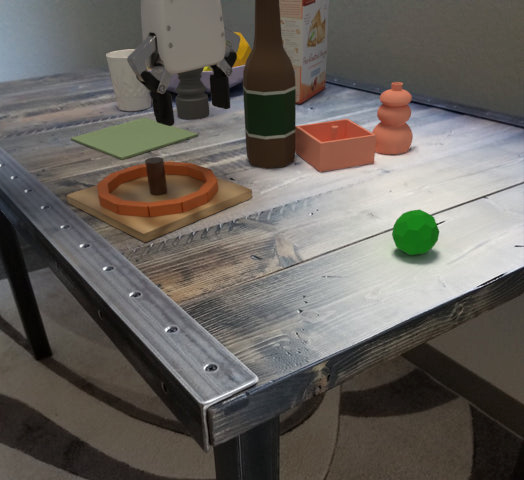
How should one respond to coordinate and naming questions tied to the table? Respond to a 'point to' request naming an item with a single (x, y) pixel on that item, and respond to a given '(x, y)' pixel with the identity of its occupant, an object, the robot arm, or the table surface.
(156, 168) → the post stand
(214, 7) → the robot arm
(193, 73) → the grey turned spindle
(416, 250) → the polyhedron
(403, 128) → the pottery
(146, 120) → the mat
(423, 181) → the table surface
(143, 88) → the white cup
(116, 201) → the ring
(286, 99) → the beer bottle
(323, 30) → the cracker box
